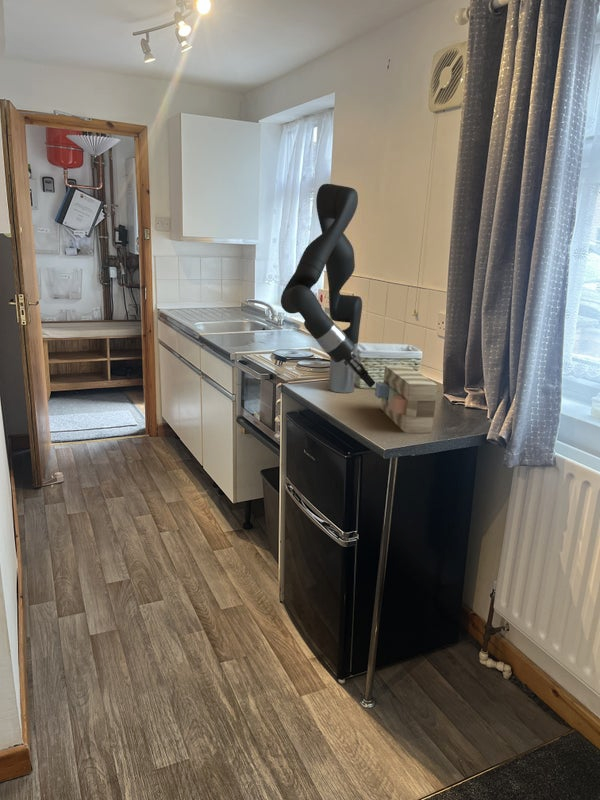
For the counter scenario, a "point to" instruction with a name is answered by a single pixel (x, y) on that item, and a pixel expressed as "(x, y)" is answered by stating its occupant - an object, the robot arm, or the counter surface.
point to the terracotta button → (398, 404)
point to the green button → (392, 394)
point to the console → (411, 399)
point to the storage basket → (385, 359)
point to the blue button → (382, 390)
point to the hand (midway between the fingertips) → (372, 384)
